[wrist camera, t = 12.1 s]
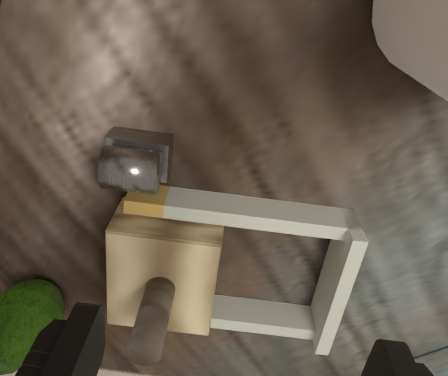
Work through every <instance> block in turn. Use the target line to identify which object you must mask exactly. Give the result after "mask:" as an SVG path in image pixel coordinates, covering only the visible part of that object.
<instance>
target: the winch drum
mask: <svg viewBox="0 0 448 376" xmlns="http://www.w3.org/2000/svg"><path fill="white" fill-rule="evenodd" d="M173 137H174V134H168V133H160V132H152V131H145V130H137V129H129V128H121V127H113V128H112V130H111V131H110V132H109V134H108V135H107V136H106V137H105V146H104V148H103V150H102V152H101V155H100V159H99V165H98V183H99V186H100V188H103V189H111V190H119V191H127V192H135V193H143V194H151V195H157V193H158V191H159V187H160V182H162V183H167V181H168V178H169V175H170V172H171V167H172V152H173Z"/></svg>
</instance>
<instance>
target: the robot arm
mask: <svg viewBox="0 0 448 376" xmlns="http://www.w3.org/2000/svg"><path fill="white" fill-rule="evenodd" d="M0 4H1V0H0ZM104 348H105V317H104V306H103V305H97V304H89V303H80V302H77V303H76V304H75V305H74V307H73V309H72V311H71V313H70V315H69V317H68V319H67V320H59V319H54V320H53V321H51V322H50V323H49V324H48V325H47V326H46V327H45V328H44V329H42V330H41V331H40V332H39V333H38V335H37V337H36V339H35V341H34V342H33V344H32V346H31V348H30V351H29V353H27V355H26V357H25V359H24V360H23V362H22V366H21V367H20V368H19V369H18V371H17V373H16V375H15V376H97V373H98V370H99V367H100V365H101V361H102V358H103V353H104ZM361 376H434V375H433V374H432V373H431V372H430V371H429V369H428V368H427V367H426V366H425V365H424V364H422V363H415V361H414V358H413V356H412V354H411V351H410V349H409V347H408V345H407V344H406V343H404V342H399V341H390V340H382V339H378V340H376V342H375V343H374V346H373V348H372V350H371V353H370V355H369V357H368V360H367V362H366V364H365V367H364V369H363V371H362V375H361Z"/></svg>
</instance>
